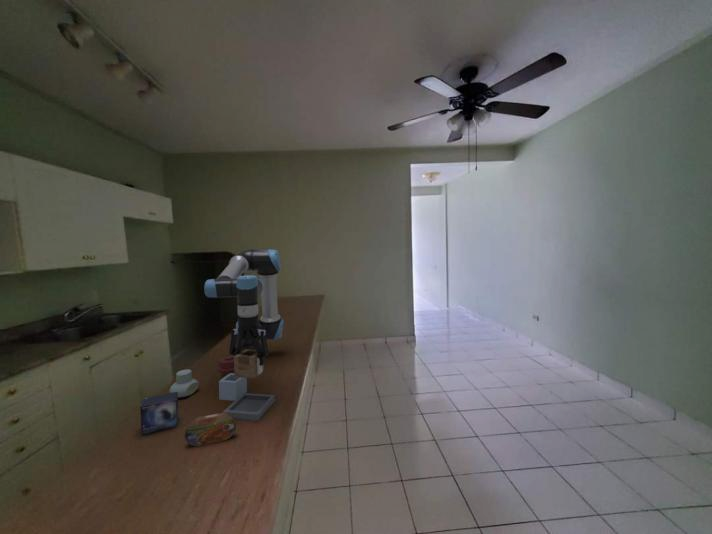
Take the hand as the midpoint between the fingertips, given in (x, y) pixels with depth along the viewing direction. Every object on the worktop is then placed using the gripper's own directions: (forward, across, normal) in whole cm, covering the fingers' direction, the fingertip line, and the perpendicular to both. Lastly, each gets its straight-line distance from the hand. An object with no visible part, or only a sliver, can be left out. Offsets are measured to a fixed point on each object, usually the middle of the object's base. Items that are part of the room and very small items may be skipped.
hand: (249, 372), depth 110 cm
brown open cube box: (0, 0, 0) cm, 0 cm away
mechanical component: (+15, -22, +20) cm, 33 cm away
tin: (+15, -3, -19) cm, 24 cm away
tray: (+15, 0, 0) cm, 15 cm away
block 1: (+15, -13, +9) cm, 22 cm away
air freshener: (+15, -35, +7) cm, 39 cm away
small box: (+15, -26, -15) cm, 34 cm away
